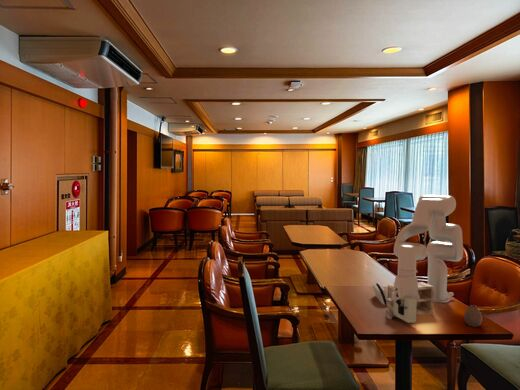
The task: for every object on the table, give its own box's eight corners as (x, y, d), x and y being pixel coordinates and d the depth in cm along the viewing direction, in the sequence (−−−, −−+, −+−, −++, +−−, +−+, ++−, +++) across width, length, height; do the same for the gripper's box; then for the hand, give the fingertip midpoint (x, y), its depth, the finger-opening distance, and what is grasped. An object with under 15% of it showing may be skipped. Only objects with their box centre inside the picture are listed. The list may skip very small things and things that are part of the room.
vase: (481, 329, 165) (482, 309, 164) (463, 326, 168) (464, 306, 168) (482, 324, 170) (482, 305, 170) (464, 321, 174) (465, 302, 174)
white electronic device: (392, 305, 195) (386, 286, 195) (383, 308, 196) (377, 289, 196) (384, 296, 212) (379, 279, 212) (376, 298, 212) (370, 281, 212)
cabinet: (421, 307, 193) (422, 282, 192) (437, 315, 182) (438, 288, 181) (376, 311, 185) (376, 284, 185) (390, 319, 174) (391, 291, 174)
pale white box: (398, 312, 178) (399, 291, 177) (415, 321, 166) (416, 299, 166) (389, 313, 176) (390, 292, 176) (406, 322, 165) (407, 299, 164)
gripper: (416, 270, 175) (415, 309, 176) (385, 271, 171) (384, 312, 171) (428, 274, 168) (427, 315, 169) (395, 275, 163) (394, 318, 164)
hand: (405, 313), depth 170 cm, fingers closed on pale white box, 4 cm apart
